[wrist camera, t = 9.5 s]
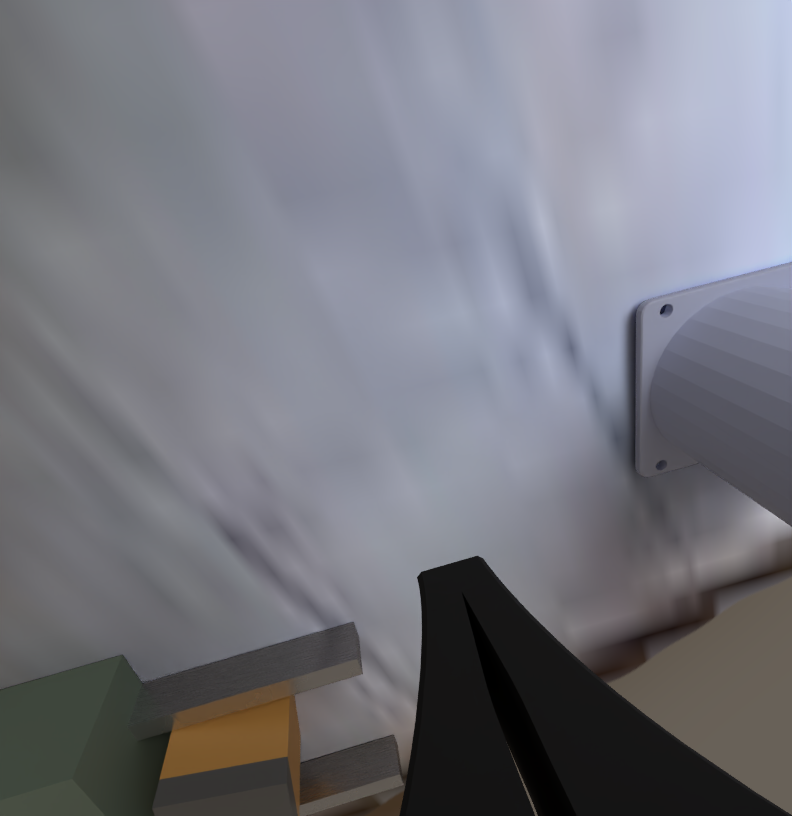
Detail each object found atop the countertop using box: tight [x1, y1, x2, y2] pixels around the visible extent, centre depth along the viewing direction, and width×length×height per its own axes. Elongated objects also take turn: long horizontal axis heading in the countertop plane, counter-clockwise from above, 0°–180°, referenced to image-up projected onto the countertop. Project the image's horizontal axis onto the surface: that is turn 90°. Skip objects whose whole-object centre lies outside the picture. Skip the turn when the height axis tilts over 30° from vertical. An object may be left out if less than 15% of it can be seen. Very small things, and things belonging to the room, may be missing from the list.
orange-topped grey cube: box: [152, 695, 300, 816], centre depth 22 cm, size 5×5×5 cm
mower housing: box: [0, 622, 404, 816], centre depth 22 cm, size 16×14×5 cm
